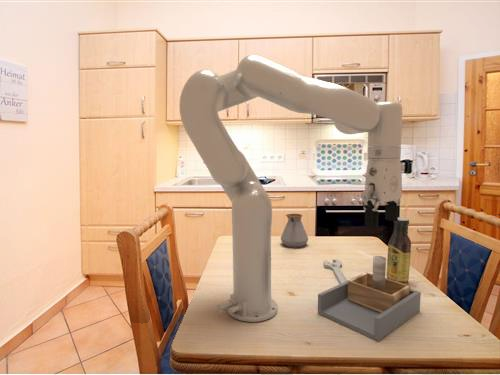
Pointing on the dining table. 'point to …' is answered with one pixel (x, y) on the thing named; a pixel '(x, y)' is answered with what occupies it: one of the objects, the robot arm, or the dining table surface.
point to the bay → (366, 312)
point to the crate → (377, 288)
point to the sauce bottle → (399, 252)
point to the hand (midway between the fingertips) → (381, 223)
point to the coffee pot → (294, 232)
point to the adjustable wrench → (336, 269)
